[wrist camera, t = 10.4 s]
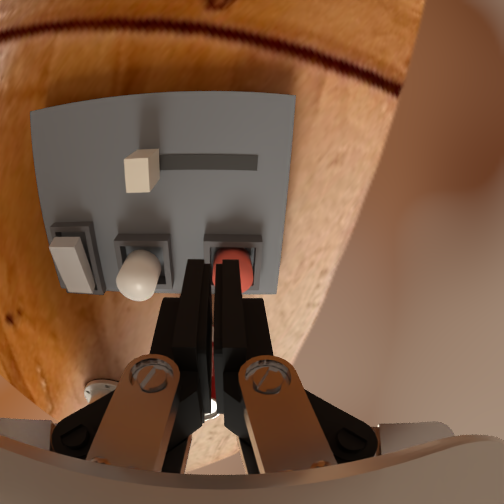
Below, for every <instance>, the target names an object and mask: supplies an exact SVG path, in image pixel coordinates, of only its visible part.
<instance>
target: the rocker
mask: <svg viewBox="0 0 504 504" xmlns="http://www.w3.org/2000/svg"><path fill="white" fill-rule="evenodd" d="M49 249H50V251H51V254H52V256H53V259H54V261H55V263H56V266H57V268H58V270H59V272H60V275H61V277H62V279H63V281H64V283H65V285H66V288H67V290H68V292H77V293H93V291H94V288H95V285H96V281H95V278H94V276H93V273H92V270H91V267H90V265H89V262H88V259H87V256H86V253H85V251H84V248H83V245H82V242H81V239H80V237H54V239H53V241H52V242H51V244H50V246H49Z"/></svg>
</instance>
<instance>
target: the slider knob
mask: <svg viewBox="0 0 504 504" xmlns="http://www.w3.org/2000/svg"><path fill="white" fill-rule="evenodd" d="M124 170H125V183H126V193H142V192H150V191H151V190H152V189H153V187H154V186H155V185H156V183H157V182H158V181H159V179H160V168H159V149H140V150H136V151H135V152H133V153H132V154H130V155H129V156H128V157H126V158H125V159H124Z"/></svg>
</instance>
